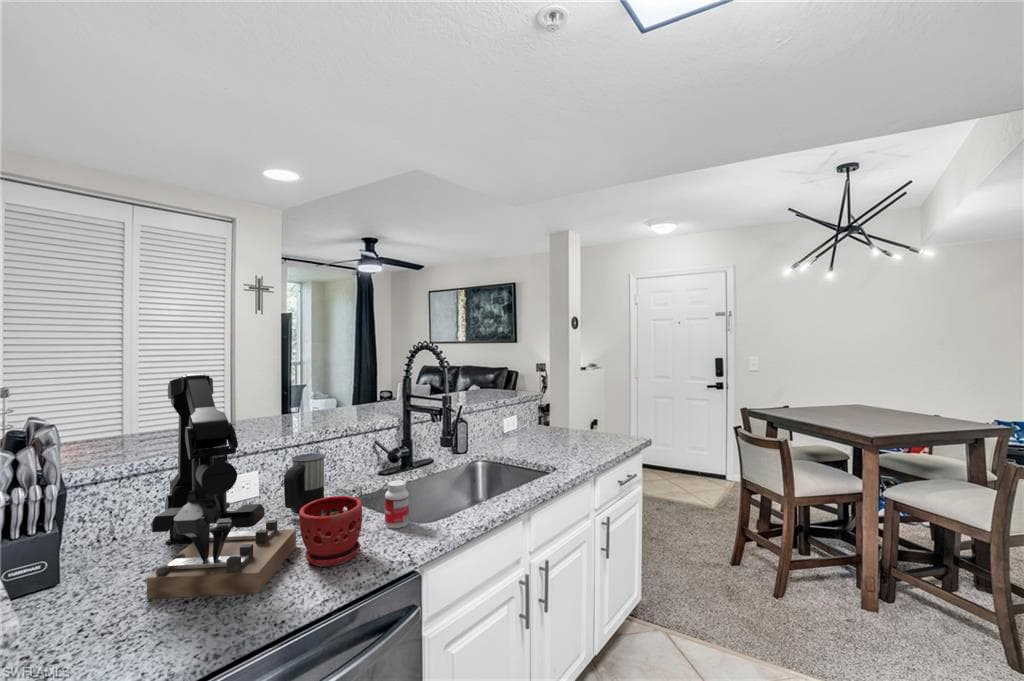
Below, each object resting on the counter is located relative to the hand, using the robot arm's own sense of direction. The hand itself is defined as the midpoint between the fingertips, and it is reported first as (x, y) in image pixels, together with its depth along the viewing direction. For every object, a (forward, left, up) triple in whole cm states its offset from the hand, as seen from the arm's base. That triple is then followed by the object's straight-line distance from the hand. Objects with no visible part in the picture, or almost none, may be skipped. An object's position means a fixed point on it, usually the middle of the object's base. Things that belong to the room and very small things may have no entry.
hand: (210, 560), depth 95 cm
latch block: (+1, +7, -5) cm, 8 cm away
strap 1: (0, 0, -1) cm, 1 cm away
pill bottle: (+33, +28, -5) cm, 43 cm away
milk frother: (+9, +41, -5) cm, 42 cm away
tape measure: (+19, +28, -5) cm, 34 cm away
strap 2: (0, +13, -1) cm, 13 cm away
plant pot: (+21, +10, -5) cm, 23 cm away
